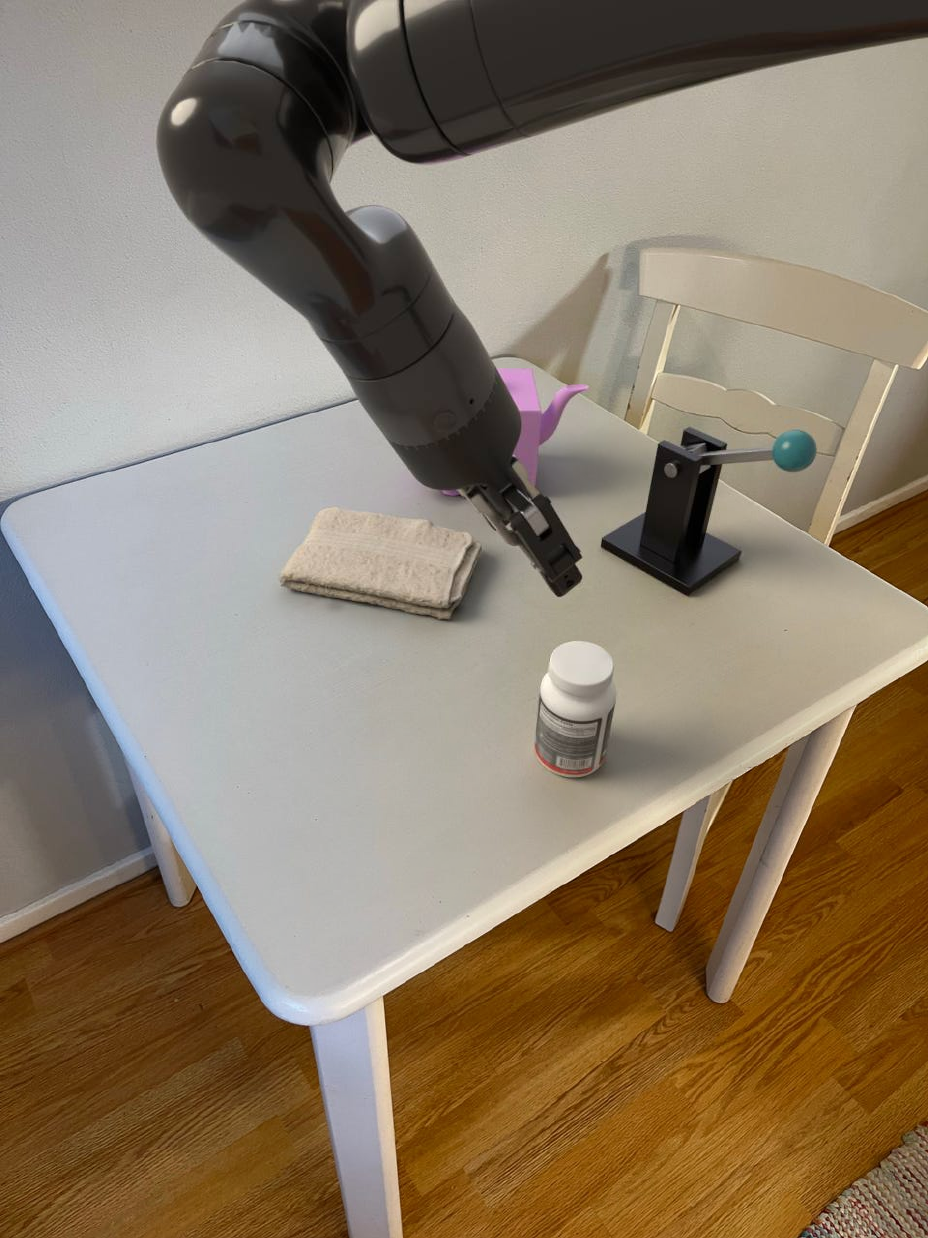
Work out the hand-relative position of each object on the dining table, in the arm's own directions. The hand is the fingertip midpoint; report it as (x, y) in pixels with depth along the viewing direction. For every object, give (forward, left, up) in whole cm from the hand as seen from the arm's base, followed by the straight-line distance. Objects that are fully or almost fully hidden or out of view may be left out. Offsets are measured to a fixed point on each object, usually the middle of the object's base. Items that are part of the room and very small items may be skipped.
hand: (535, 552), depth 63 cm
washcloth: (+23, -4, -17) cm, 29 cm away
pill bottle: (-5, 0, -17) cm, 18 cm away
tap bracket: (+6, -28, -17) cm, 33 cm away
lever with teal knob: (0, -28, -5) cm, 29 cm away
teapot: (+29, -25, -17) cm, 42 cm away
